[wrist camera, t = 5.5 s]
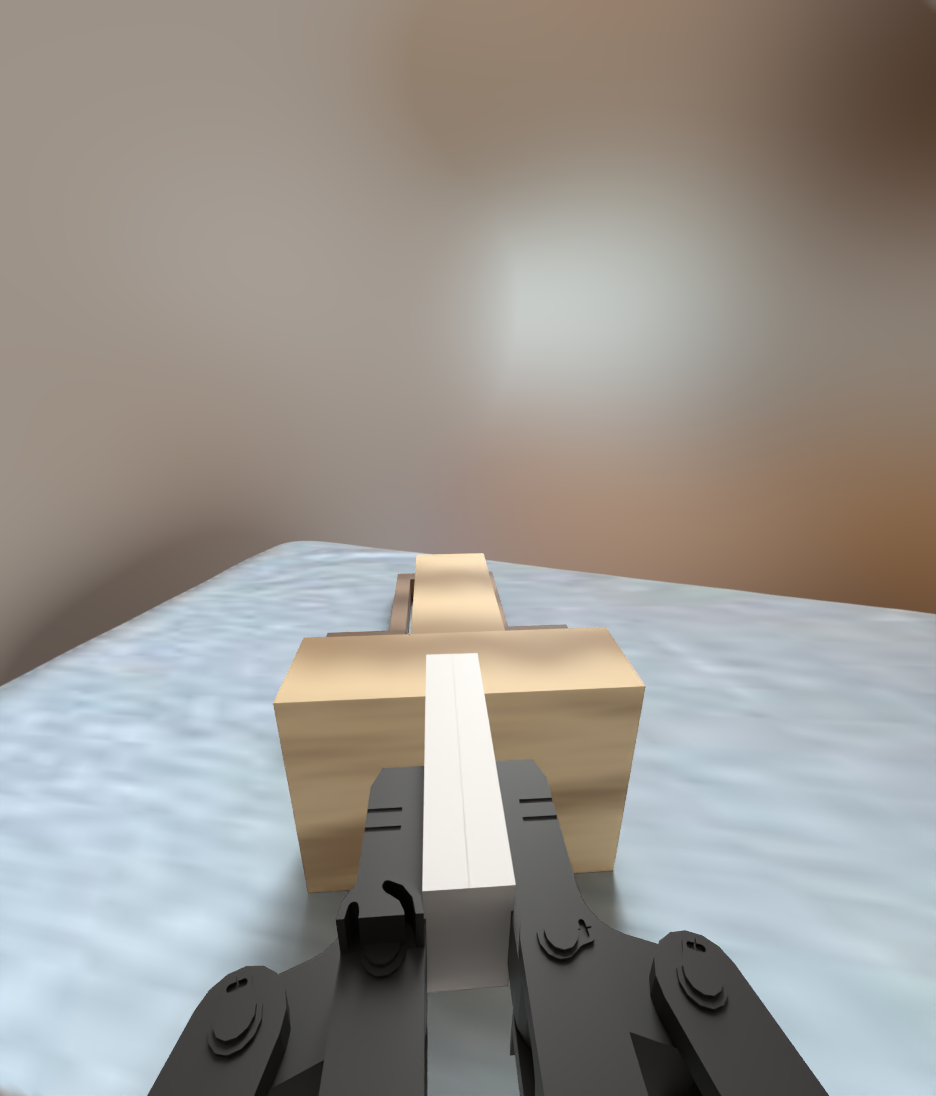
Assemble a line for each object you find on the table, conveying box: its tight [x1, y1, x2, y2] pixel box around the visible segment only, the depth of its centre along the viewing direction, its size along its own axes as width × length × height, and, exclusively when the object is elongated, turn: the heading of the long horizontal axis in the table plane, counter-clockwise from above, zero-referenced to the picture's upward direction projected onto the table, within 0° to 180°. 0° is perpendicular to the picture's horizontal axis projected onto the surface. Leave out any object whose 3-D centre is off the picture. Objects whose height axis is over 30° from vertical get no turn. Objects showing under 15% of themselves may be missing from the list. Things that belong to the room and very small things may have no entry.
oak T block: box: [273, 553, 645, 893], centre depth 30 cm, size 16×16×12 cm
